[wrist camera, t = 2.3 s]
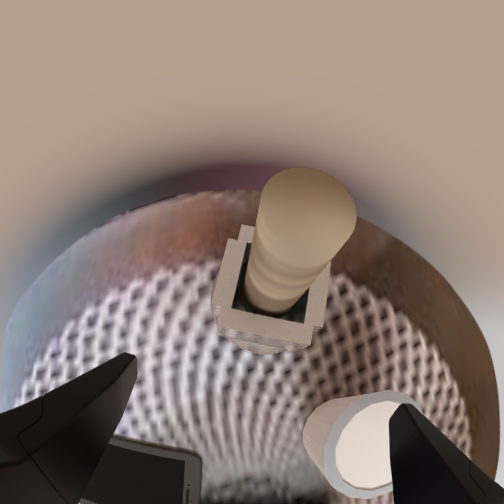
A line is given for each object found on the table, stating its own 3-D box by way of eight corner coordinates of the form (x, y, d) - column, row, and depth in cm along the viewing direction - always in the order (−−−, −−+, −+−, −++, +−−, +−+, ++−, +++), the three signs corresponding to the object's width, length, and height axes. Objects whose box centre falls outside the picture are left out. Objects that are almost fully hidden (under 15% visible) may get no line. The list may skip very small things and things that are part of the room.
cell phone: (41, 410, 18) (36, 410, 17) (203, 452, 18) (202, 455, 17) (42, 483, 15) (37, 485, 14) (198, 529, 15) (197, 533, 14)
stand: (306, 363, 21) (330, 357, 16) (200, 341, 21) (192, 329, 16) (320, 266, 25) (343, 236, 20) (225, 245, 25) (226, 209, 20)
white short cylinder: (284, 405, 20) (310, 415, 14) (367, 378, 21) (416, 372, 15) (305, 483, 17) (335, 517, 11) (384, 451, 18) (435, 467, 12)
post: (287, 327, 21) (355, 263, 10) (236, 316, 21) (249, 238, 10) (296, 279, 22) (358, 179, 11) (247, 268, 22) (268, 157, 12)
